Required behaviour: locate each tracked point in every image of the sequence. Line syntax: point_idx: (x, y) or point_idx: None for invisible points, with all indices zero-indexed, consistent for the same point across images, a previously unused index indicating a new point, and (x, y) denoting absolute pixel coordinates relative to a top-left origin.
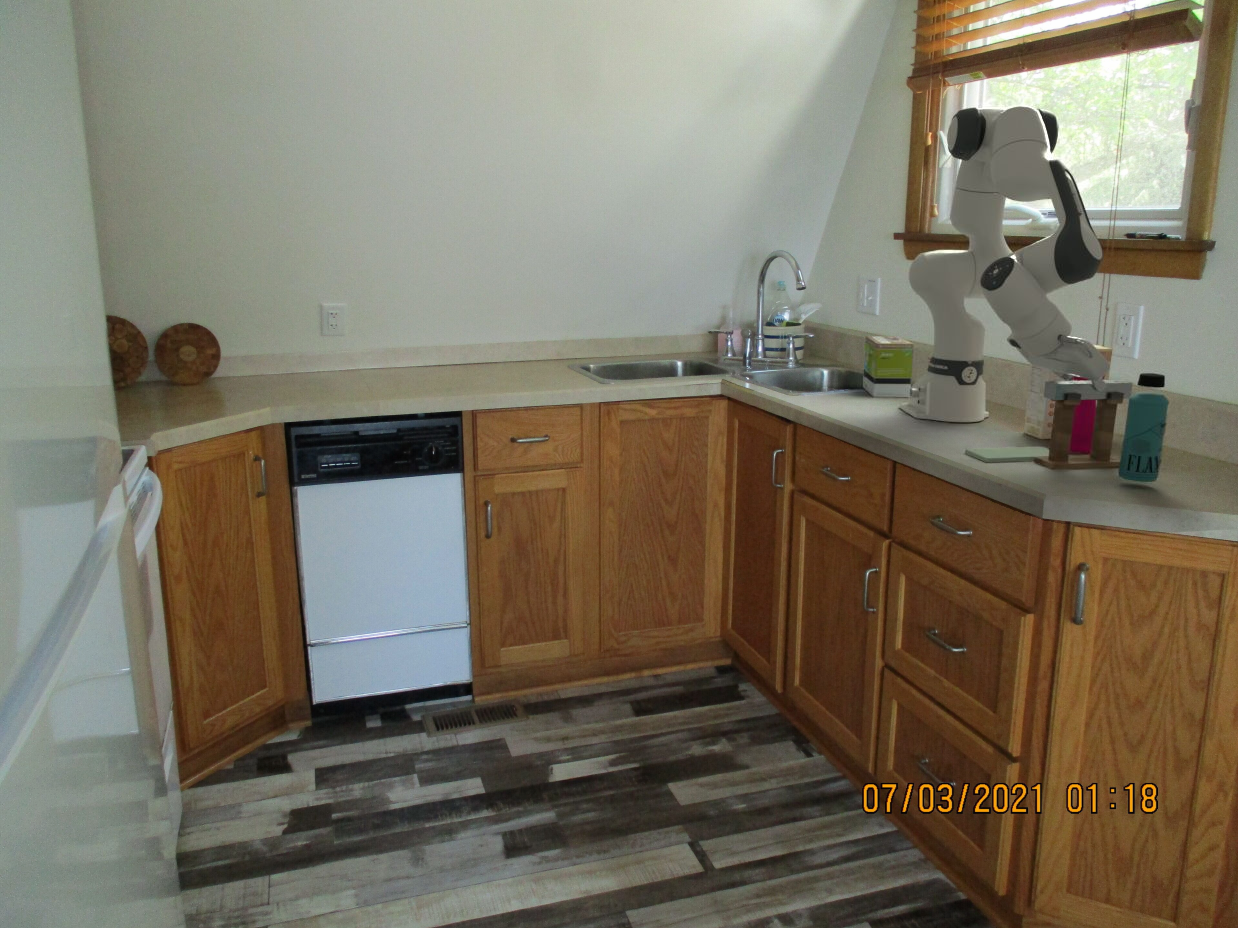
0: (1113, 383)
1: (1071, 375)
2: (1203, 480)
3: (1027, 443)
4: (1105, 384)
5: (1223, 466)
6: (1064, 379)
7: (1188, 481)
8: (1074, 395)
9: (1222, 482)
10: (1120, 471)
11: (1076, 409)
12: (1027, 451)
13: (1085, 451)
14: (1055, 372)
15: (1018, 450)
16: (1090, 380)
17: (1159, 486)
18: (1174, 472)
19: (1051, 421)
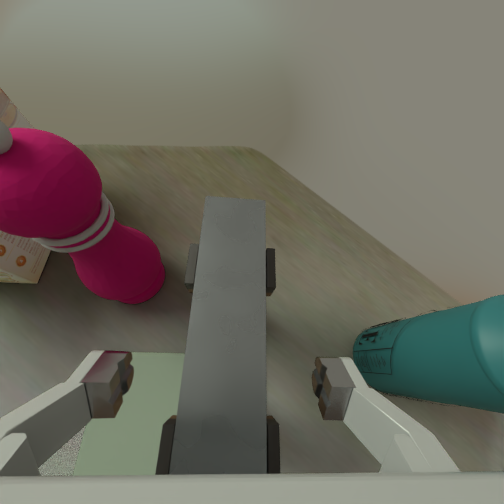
0: (265, 265)
1: (118, 364)
2: (338, 238)
3: (47, 336)
4: (352, 363)
5: (273, 166)
6: (118, 406)
7: (343, 260)
8: (279, 462)
9: (348, 224)
10: (385, 392)
11: (102, 268)
12: (130, 418)
13: (162, 283)
14: (46, 452)
15: (114, 437)
16: (192, 307)
17: (372, 322)
18: (296, 241)
19: (16, 255)
